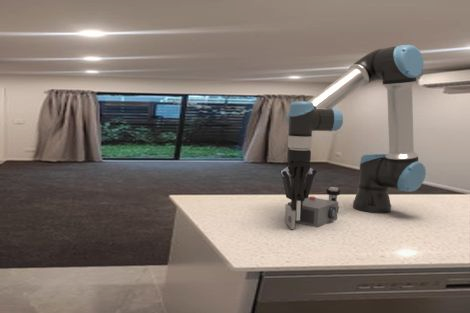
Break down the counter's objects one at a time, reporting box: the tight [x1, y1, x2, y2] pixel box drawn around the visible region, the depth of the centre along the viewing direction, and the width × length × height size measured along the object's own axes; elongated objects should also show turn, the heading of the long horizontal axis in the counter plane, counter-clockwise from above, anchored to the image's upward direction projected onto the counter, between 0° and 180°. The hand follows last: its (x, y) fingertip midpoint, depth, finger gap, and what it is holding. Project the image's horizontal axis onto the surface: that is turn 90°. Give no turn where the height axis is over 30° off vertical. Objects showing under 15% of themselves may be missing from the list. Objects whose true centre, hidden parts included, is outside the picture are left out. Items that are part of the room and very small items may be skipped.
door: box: [284, 203, 296, 230], centre depth 137 cm, size 2×12×6 cm, turn 4°
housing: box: [287, 195, 339, 228], centre depth 145 cm, size 16×13×7 cm
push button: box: [326, 186, 341, 212], centre depth 157 cm, size 7×5×10 cm
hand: (296, 219), depth 134 cm, fingers closed
